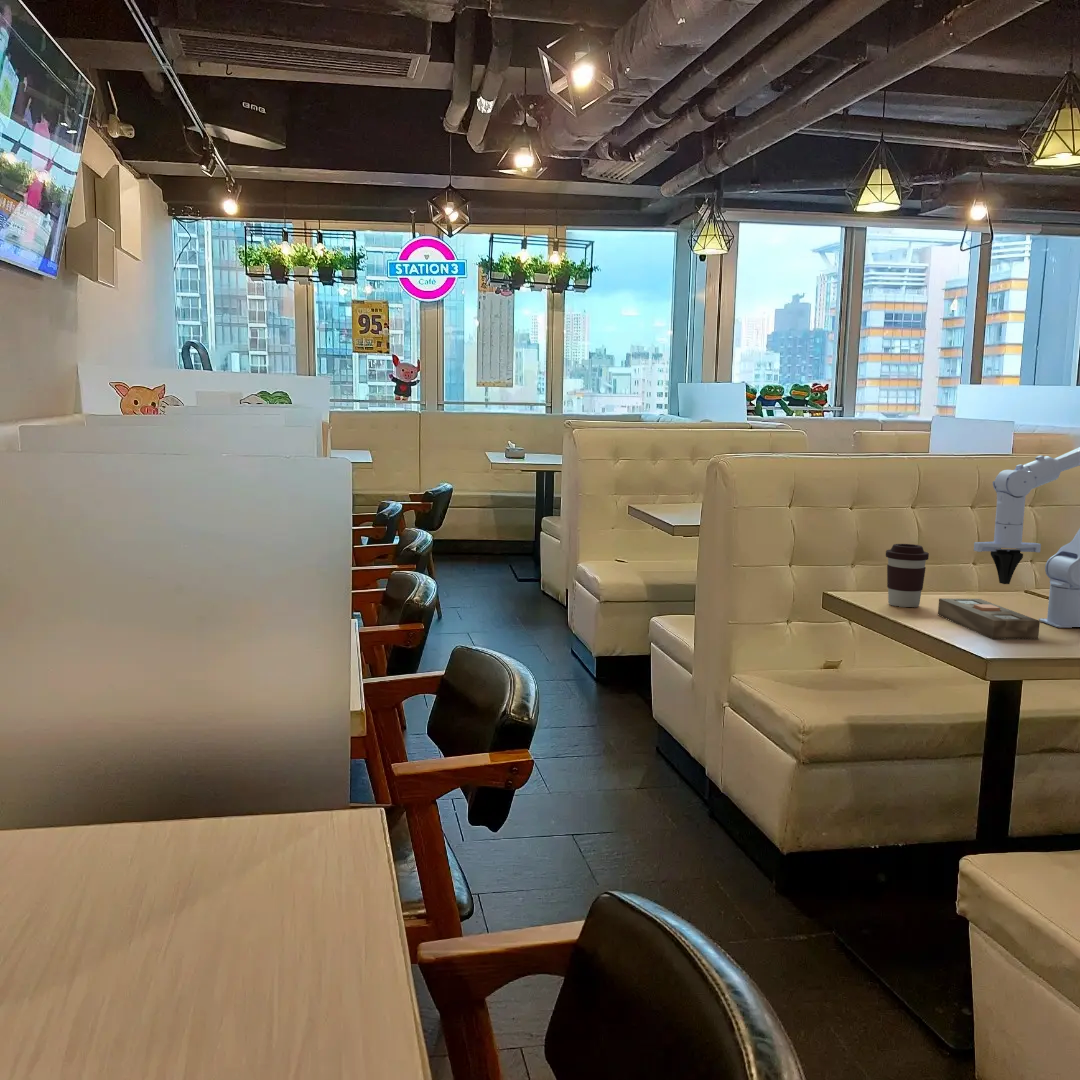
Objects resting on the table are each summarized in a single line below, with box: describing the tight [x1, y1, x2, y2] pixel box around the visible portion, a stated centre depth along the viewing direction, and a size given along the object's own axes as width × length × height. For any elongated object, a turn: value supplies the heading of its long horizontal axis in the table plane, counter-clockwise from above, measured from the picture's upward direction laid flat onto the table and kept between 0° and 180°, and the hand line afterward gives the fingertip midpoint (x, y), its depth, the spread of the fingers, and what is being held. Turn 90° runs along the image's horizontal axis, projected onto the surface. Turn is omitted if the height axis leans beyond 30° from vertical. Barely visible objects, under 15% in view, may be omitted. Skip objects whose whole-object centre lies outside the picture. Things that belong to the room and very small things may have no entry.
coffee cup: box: [885, 543, 930, 608], centre depth 247 cm, size 10×10×15 cm
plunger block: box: [937, 597, 1041, 640], centre depth 224 cm, size 10×25×4 cm, turn 4°
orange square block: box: [974, 604, 1000, 611], centre depth 223 cm, size 4×4×3 cm
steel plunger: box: [957, 601, 979, 604], centre depth 232 cm, size 4×4×3 cm
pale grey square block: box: [993, 615, 1019, 619], centre depth 215 cm, size 4×4×3 cm
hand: (1004, 583), depth 225 cm, fingers closed
